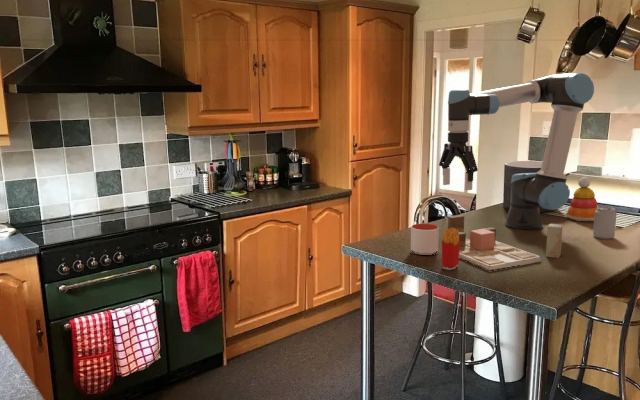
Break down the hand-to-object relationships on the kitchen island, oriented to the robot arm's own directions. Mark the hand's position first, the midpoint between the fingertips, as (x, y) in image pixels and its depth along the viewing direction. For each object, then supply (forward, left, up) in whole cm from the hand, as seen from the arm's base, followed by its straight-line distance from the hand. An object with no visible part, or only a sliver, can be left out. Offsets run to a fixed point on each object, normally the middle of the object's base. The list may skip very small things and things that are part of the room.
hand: (457, 187), depth 198 cm
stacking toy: (-4, +73, -22) cm, 76 cm away
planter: (-33, +70, -22) cm, 80 cm away
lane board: (+20, 0, -22) cm, 30 cm away
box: (+29, +20, -22) cm, 42 cm away
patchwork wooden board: (+20, 0, -21) cm, 29 cm away
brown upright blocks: (+10, 0, -21) cm, 23 cm away
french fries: (+23, -20, -22) cm, 38 cm away
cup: (+5, -18, -22) cm, 29 cm away
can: (+21, +55, -22) cm, 63 cm away
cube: (+15, 0, -20) cm, 25 cm away
